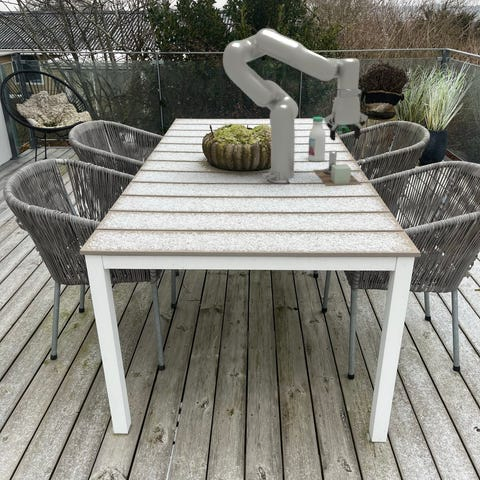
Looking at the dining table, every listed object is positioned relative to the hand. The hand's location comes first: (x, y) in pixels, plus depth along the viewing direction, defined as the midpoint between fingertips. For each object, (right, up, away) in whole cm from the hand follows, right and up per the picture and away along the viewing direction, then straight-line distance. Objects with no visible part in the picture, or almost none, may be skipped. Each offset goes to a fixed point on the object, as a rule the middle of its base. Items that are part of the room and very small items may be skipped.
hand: (344, 139), depth 183 cm
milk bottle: (-4, -1, +42) cm, 42 cm away
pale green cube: (-1, -16, +3) cm, 16 cm away
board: (-1, -15, +10) cm, 18 cm away
